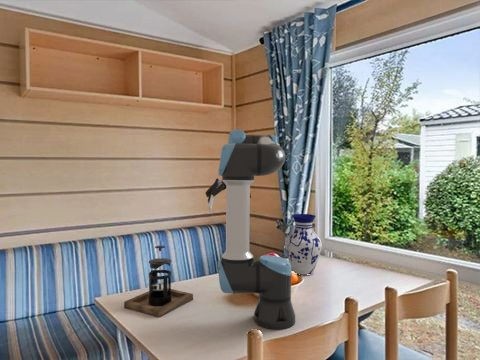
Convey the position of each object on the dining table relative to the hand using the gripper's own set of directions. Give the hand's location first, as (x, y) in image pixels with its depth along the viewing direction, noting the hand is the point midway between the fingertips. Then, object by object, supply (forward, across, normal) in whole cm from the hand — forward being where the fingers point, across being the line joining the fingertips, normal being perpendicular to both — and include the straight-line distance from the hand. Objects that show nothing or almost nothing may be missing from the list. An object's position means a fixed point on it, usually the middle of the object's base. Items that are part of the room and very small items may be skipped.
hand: (225, 209), depth 166 cm
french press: (+37, +24, -16) cm, 46 cm away
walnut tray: (+37, +24, -16) cm, 47 cm away
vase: (-3, -32, -56) cm, 65 cm away
